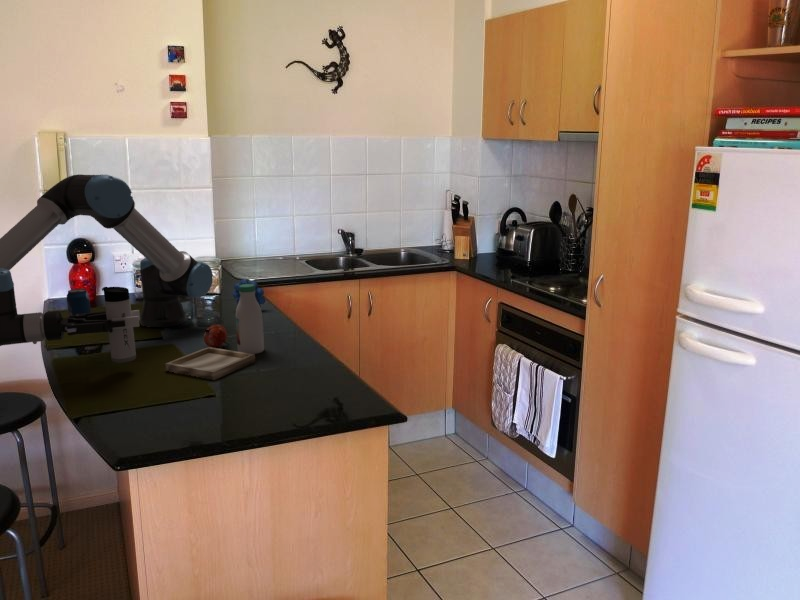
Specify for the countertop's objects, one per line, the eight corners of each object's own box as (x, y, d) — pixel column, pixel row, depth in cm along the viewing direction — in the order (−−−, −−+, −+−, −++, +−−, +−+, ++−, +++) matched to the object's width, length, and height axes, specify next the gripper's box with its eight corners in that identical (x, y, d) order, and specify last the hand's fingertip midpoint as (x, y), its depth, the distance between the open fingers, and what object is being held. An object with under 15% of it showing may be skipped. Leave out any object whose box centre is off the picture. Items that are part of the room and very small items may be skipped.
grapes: (231, 314, 255) (229, 281, 252) (234, 310, 262) (232, 278, 259) (264, 313, 256) (262, 280, 253) (266, 309, 262) (264, 277, 260)
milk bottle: (269, 348, 214) (265, 283, 209) (255, 356, 207) (251, 288, 202) (246, 346, 216) (242, 281, 212) (232, 354, 209) (228, 287, 205)
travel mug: (114, 356, 196) (106, 285, 192) (139, 355, 197) (131, 284, 192) (107, 363, 190) (98, 290, 185) (132, 362, 191) (124, 289, 186)
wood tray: (165, 371, 195) (165, 363, 194) (208, 354, 209) (208, 346, 209) (214, 380, 187) (213, 372, 187) (255, 361, 202) (254, 354, 201)
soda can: (96, 322, 247) (92, 288, 245) (85, 327, 241) (81, 292, 238) (76, 321, 248) (72, 288, 245) (65, 327, 241) (61, 292, 239)
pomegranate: (219, 349, 221) (192, 335, 215) (232, 330, 222) (206, 315, 216) (226, 358, 215) (199, 344, 209) (240, 338, 216) (214, 323, 210)
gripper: (52, 331, 195) (141, 322, 202) (41, 351, 178) (139, 341, 184) (48, 304, 194) (139, 296, 200) (36, 321, 176) (136, 313, 183)
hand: (139, 318), depth 192 cm, fingers closed on travel mug, 6 cm apart
